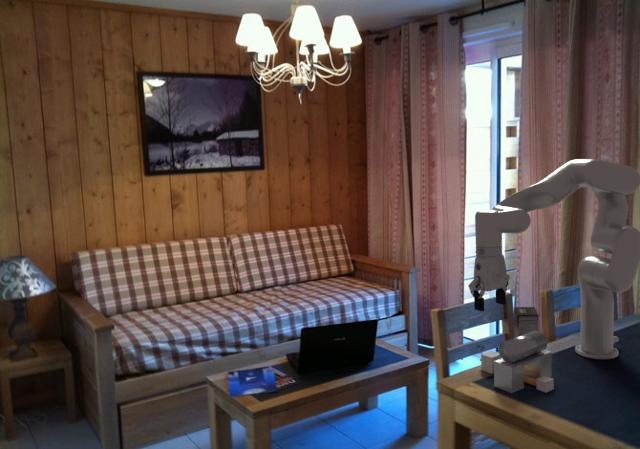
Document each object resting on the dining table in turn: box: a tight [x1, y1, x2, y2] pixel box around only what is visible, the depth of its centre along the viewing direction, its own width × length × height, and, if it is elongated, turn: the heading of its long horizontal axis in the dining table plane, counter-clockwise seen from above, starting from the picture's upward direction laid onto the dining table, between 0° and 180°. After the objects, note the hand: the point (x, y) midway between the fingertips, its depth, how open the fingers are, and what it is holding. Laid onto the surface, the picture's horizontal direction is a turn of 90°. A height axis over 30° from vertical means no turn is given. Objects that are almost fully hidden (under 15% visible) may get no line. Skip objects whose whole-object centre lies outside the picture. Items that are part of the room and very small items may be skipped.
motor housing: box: [493, 330, 552, 394], centre depth 162 cm, size 18×6×14 cm, turn 124°
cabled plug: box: [479, 350, 555, 393], centre depth 166 cm, size 4×24×5 cm, turn 34°
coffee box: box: [513, 306, 539, 338], centre depth 179 cm, size 9×6×16 cm
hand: (490, 307), depth 171 cm, fingers open, 9 cm apart
